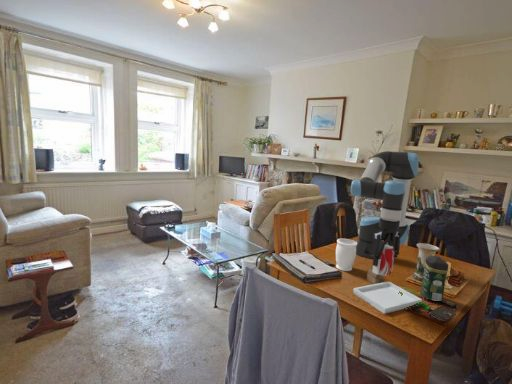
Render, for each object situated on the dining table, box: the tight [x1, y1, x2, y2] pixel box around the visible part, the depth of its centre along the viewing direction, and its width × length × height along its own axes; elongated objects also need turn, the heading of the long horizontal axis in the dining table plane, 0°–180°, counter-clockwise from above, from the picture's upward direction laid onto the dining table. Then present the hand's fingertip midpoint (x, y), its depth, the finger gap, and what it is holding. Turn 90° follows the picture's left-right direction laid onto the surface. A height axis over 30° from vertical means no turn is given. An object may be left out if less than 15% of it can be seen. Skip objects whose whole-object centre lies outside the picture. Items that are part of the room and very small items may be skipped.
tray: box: [352, 281, 423, 315], centre depth 124 cm, size 22×17×2 cm
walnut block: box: [366, 267, 384, 284], centre depth 139 cm, size 5×5×6 cm
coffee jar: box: [420, 255, 449, 302], centre depth 126 cm, size 10×8×19 cm
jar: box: [335, 238, 357, 272], centre depth 152 cm, size 11×10×15 cm
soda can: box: [379, 243, 395, 277], centre depth 119 cm, size 7×7×12 cm
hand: (382, 271), depth 120 cm, fingers closed on soda can, 7 cm apart
